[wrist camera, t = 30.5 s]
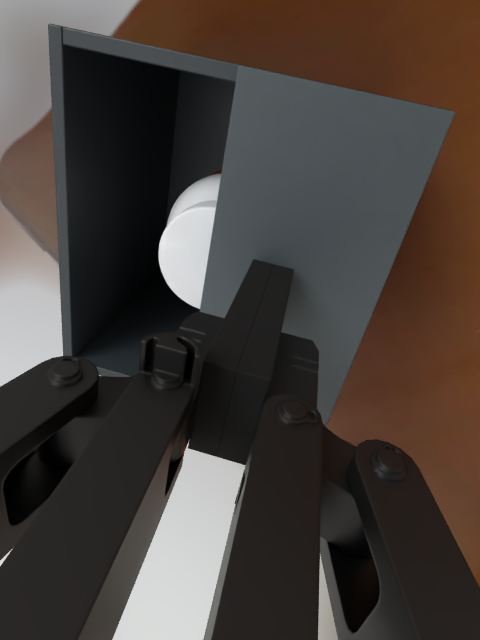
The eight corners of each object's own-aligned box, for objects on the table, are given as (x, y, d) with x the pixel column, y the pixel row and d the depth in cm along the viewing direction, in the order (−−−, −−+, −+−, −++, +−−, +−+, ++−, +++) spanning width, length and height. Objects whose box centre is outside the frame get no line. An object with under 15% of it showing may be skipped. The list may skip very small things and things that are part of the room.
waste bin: (175, 60, 24) (47, 22, 13) (393, 107, 23) (452, 110, 12) (156, 273, 31) (63, 365, 20) (322, 316, 30) (318, 438, 19)
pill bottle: (317, 179, 25) (310, 226, 15) (278, 264, 28) (252, 348, 18) (225, 139, 25) (160, 160, 15) (197, 229, 28) (127, 294, 18)
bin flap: (240, 66, 12) (238, 64, 12) (452, 111, 11) (456, 112, 11) (185, 407, 19) (183, 412, 19) (316, 443, 18) (316, 449, 18)
